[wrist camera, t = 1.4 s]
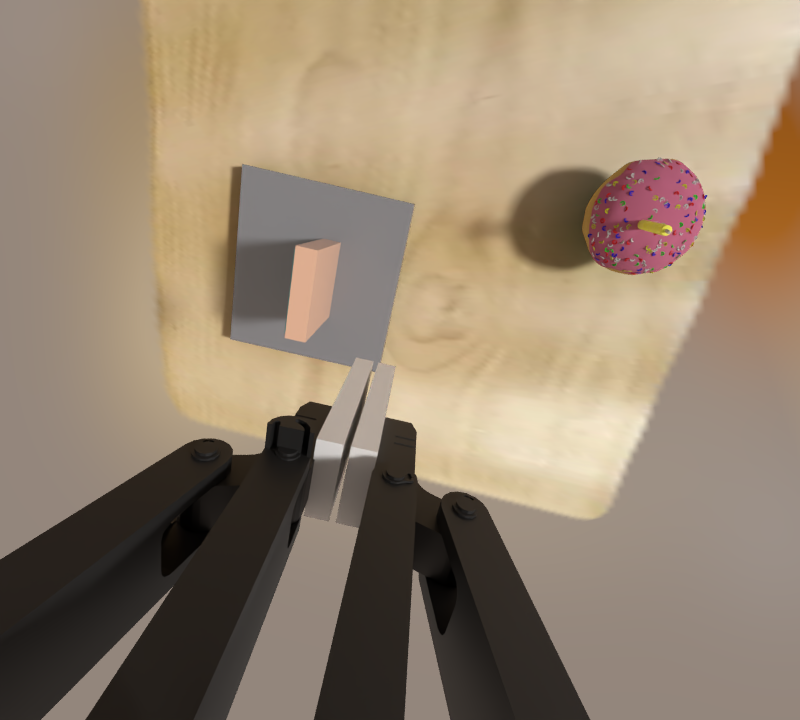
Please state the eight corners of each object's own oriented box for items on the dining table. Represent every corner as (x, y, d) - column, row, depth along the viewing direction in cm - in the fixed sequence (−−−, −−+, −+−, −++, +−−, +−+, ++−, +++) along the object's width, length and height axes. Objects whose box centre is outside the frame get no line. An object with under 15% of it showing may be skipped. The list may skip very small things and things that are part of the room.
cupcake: (576, 280, 37) (641, 310, 26) (556, 186, 34) (620, 173, 23) (674, 248, 35) (788, 266, 24) (662, 148, 33) (784, 114, 22)
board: (249, 166, 35) (242, 164, 34) (414, 204, 36) (414, 204, 34) (237, 334, 41) (230, 339, 40) (379, 367, 41) (378, 372, 40)
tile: (321, 238, 36) (293, 245, 28) (340, 242, 36) (317, 250, 28) (311, 312, 38) (282, 337, 31) (329, 317, 38) (305, 342, 31)
